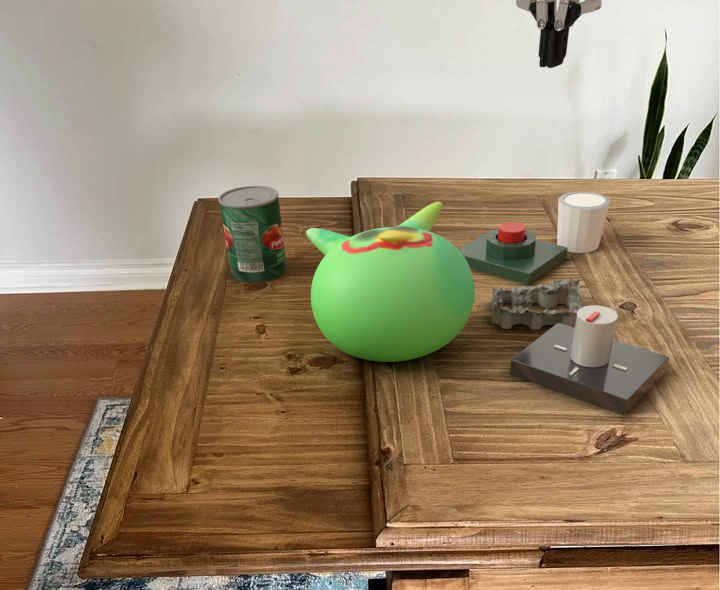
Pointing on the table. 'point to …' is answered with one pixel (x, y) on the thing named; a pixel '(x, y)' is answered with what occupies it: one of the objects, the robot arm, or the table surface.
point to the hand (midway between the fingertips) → (551, 65)
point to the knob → (593, 336)
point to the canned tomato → (253, 233)
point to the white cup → (581, 220)
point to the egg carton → (544, 297)
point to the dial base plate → (590, 371)
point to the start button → (511, 232)
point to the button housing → (513, 257)
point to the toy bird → (391, 289)
